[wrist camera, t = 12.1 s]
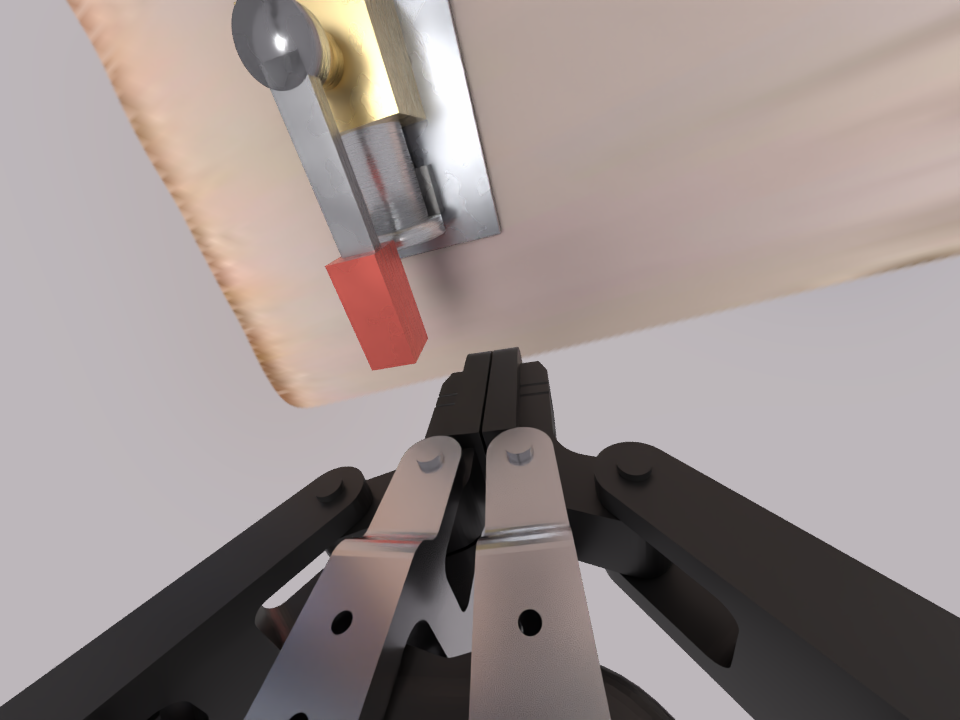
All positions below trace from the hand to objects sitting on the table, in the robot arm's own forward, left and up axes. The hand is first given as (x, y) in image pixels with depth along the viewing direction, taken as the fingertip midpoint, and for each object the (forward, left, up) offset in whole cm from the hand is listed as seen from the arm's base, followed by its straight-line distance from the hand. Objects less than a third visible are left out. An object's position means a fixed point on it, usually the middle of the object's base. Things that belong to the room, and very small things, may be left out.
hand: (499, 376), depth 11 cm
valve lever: (-5, -7, -10) cm, 14 cm away
